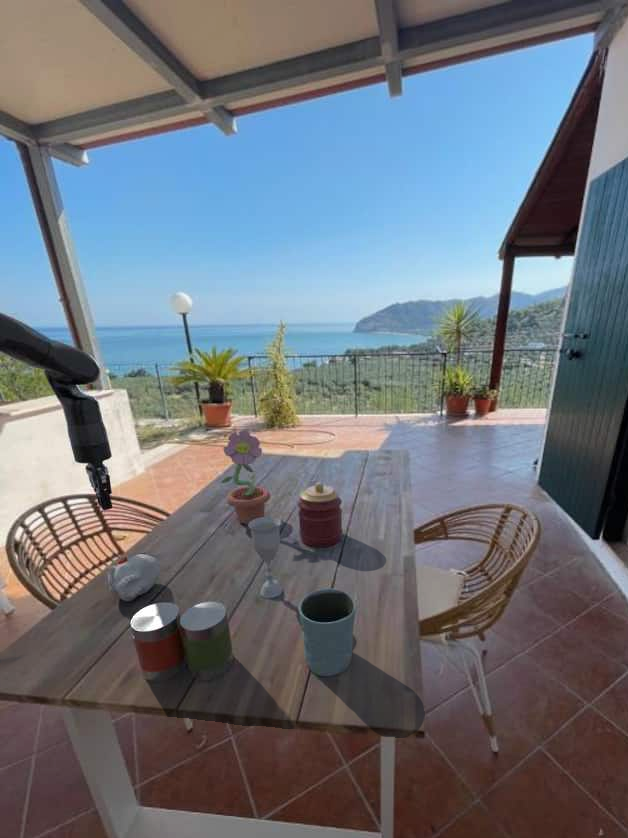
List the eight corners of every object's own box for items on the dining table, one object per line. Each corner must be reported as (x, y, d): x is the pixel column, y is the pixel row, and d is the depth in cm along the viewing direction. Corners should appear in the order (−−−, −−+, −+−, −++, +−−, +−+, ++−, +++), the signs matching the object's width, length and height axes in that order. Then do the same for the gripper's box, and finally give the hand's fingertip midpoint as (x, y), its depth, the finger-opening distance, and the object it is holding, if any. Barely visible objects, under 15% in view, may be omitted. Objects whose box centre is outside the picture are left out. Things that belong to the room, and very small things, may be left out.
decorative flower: (226, 532, 122) (213, 439, 112) (225, 514, 134) (214, 429, 124) (274, 525, 126) (266, 435, 116) (269, 509, 139) (262, 426, 128)
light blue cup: (292, 668, 71) (287, 614, 67) (319, 632, 80) (316, 582, 76) (341, 687, 67) (340, 630, 63) (364, 647, 76) (364, 595, 72)
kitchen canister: (312, 525, 126) (309, 473, 120) (349, 531, 122) (348, 478, 116) (291, 543, 115) (287, 487, 109) (331, 551, 110) (329, 493, 105)
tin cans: (133, 682, 68) (120, 632, 64) (154, 649, 75) (143, 602, 72) (226, 680, 68) (218, 630, 65) (238, 648, 76) (231, 600, 72)
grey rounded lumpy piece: (128, 611, 85) (99, 594, 94) (176, 586, 94) (145, 573, 103) (116, 575, 83) (88, 561, 91) (167, 552, 91) (136, 541, 100)
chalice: (249, 596, 91) (241, 527, 85) (266, 580, 97) (259, 515, 91) (276, 603, 88) (269, 532, 82) (292, 586, 94) (286, 519, 88)
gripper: (65, 438, 95) (82, 503, 100) (76, 448, 85) (94, 520, 91) (100, 433, 100) (115, 495, 105) (115, 443, 90) (130, 511, 96)
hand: (105, 506), depth 98 cm, fingers open, 3 cm apart
